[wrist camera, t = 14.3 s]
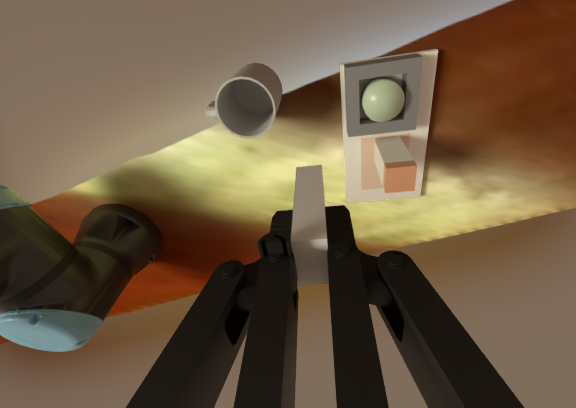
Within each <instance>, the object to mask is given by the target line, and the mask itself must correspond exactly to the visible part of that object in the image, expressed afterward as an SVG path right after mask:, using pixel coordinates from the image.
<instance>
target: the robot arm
mask: <svg viewBox="0 0 576 408" xmlns="http://www.w3.org/2000/svg"><path fill="white" fill-rule="evenodd" d="M161 246H162V239H161V236H160V233H159V231H158V229H157V228H156V227H155V225H154V224H153V223H152V222H151V221H150V220H149V219H148V218H146V217H145V216H144V215H142V214H141V213H139V212H137V211H135V210H133V209H131V208H128V207H125V206H122V205H116V204H105V205H101V206H98V207H96V208H94V209H93V210H92V211H91V212H90V213H89V214H88V215H87V216H86V217H85V218H84V219H83V221H82V223H81V226H80V229H79V231H78V233H77V235H76V237H75V239H74V242H73V243H72V244H71V243H70V242H69V241H68V240H67V239H66V238H65V237H64V236H63V235H62V234H60V233H59V232H58V231H57V230H56V229H55V228H54V227H53V226H52V225H51V224H50V223H49V222H47V221H46V220H45V219H44V218H43V217H42V216H41V215H40V214H39V213H38V212H37V211H35V210H34V209H33V208H32V207H31V204H30V203H29V202H25V201H24V200H23V199H22V198H21V197H19V196H18V195H17V194H16V193H15V192H13V191H12V190H11V189H9V188H8V187H5V186H2V185H0V311H1V312H2V313H1V314H0V335H2V336H3V337H5V338H7V339H8V340H10V341H13V342H15V343H18V344H21V345H23V346H27V347H30V348H35V349H40V350H46V351H56V352H58V351H60V352H63V351H71V350H75V349H78V348H80V347H82V346H83V345H85V344H86V343H87V342H88V341H89V340H90V338H91V337H92V336H93V334H94V333H95V332H96V331H97V329H98V328H99V327H100V326H101V325H102V324H103V321H104V319H105V318H106V316H107V315H108V313H109V311H110V310H111V308H112V307H113V305H114V304H115V302H116V301H117V299H118V298H119V296H120V295H121V293H122V292H123V290H124V288H125V287H126V285H127V284H128V282H129V281H130V279H131V278H132V277H133V276H134V275H135V274H137V273H138V272H139V271H141V270H142V269H143V268H144V267H146V266H147V265H148V264H150V263H151V262H152V261H153V260H154V259H155V258H156V256H157V254H158V253H159V251H160V249H161ZM258 246H259V250H260V254H261V259H259V260H258V261H256V262H253V263H250V264H247V265H243V264H242V263H241V262H239V261H236V260H230V261H227V262H224V263H222V264H221V265H219V266H218V267H217V268H216V270H215V271H214V273H213V274H212V276H211V277H210V279H209V280H208V282H207V283H206V285H205V287H204V288H203V290H202V291H201V293H200V294H199V296H198V297H197V299H196V300H195V302H194V303H193V305H192V307H191V308H190V310H189V311H188V313H187V314H186V316H185V317H184V319H183V320H182V322H181V323H180V325H179V327H178V328H177V330H176V331H175V333H174V334H173V336H172V337H171V339H170V340H169V342H168V343H167V345H166V347H165V348H164V350H163V351H162V353H161V354H160V356H159V357H158V359H157V361H156V362H155V364H154V365H153V367H152V368H151V370H150V371H149V373H148V374H147V376H146V377H145V379H144V381H143V382H142V384H141V385H140V387H139V388H138V390H137V391H136V393H135V394H134V396H133V397H132V399H131V400H130V402H129V404H128V405H127V407H126V408H214V406H215V403H216V401H217V399H218V397H219V395H220V392H221V390H222V388H223V386H224V383H225V381H226V379H227V376H228V374H229V372H230V370H231V367H232V365H233V363H234V360H235V358H236V356H237V354H238V351H239V349H240V347H241V345H242V342H243V339H244V338H245V336H246V333H247V338H246V343H245V348H244V354H243V359H242V365H241V370H240V375H239V381H238V386H237V392H236V397H235V403H234V408H295V379H296V351H297V323H298V321H297V320H298V290H297V280H298V285H310V284H329V292H330V308H331V323H332V338H333V354H334V368H335V384H336V399H337V408H389V407H388V402H387V397H386V391H385V386H384V381H383V376H382V371H381V365H380V360H379V355H378V350H377V344H376V339H375V334H374V329H373V324H372V319H371V313H370V308H369V304H372V305H376V306H377V309H378V311H379V313H380V315H381V317H382V318H383V320H384V322H385V324H386V326H387V328H388V330H389V332H390V334H391V336H392V338H393V340H394V342H395V344H396V346H397V348H398V350H399V351H400V353H401V355H402V357H403V359H404V361H405V363H406V365H407V367H408V369H409V371H410V373H411V375H412V377H413V379H414V381H415V383H416V385H417V386H418V389H419V391H420V393H421V394H422V396H423V398H424V400H425V402H426V404H427V406H428V408H524V407H523V405H522V404H521V403H520V401H519V400H518V399H517V397H516V396H515V395H514V393H513V392H512V391H511V389H510V388H509V387H508V385H507V384H506V383H505V382H504V380H503V379H502V378H501V376H500V375H499V374H498V373H497V371H496V370H495V368H494V367H493V366H492V364H491V363H490V362H489V360H488V359H487V358H486V357H485V355H484V354H483V353H482V351H481V350H480V349H479V347H478V346H477V345H476V343H475V342H474V341H473V339H472V338H471V337H470V335H469V334H468V333H467V331H466V330H465V329H464V327H463V326H462V325H461V324H460V322H459V321H458V320H457V318H456V317H455V316H454V314H453V313H452V312H451V310H450V309H449V308H448V306H447V305H446V304H445V302H444V301H443V300H442V299H441V297H440V296H439V295H438V293H437V292H436V291H435V289H434V288H433V287H432V286H431V284H430V283H429V281H428V280H427V279H426V278H425V277H424V275H423V274H422V272H421V271H420V270H419V268H418V267H417V266H416V264H415V263H414V262H413V260H412V259H411V258H410V257H409V256H408V255H407V254H405V253H402V252H400V251H394V250H393V251H386V252H384V253H382V254H381V255H380V256H379V257H375V256H371V255H367V254H365V253H363V252H361V251H360V250H359V249H358V248H357V246H356V244H355V238H354V233H353V228H352V223H351V217H350V212H349V210H348V209H347V208H346V207H345V206H344V205H342V206H329V207H325V200H324V188H323V175H322V165H315V166H305V167H297V168H296V180H295V192H294V205H293V210H286V211H277V212H276V213H275V215H274V216H273V217H272V222H271V228H270V233H268V234H266V235H264V236H263V237H262V238H261V239H260V240H259V242H258ZM247 331H248V332H247Z"/></svg>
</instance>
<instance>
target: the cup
mask: <svg viewBox="0 0 576 408" xmlns="http://www.w3.org/2000/svg"><path fill="white" fill-rule="evenodd" d="M281 98H282V85H281V82H280V80H279V78H278V76H277V75H276V73H275V72H274V71H273V70H272V69H271V68H269V67H268V66H265V65H263V64H258V63H252V64H248V65H246V66H244V67H242V68H241V69H239V70H238V71H237V72H236V73H235V74H234V75H233V76H232V77H230V78H229V79H228V80H227V81H226V82H225V83H224V84H223V85H222V86H221V87H220V88H219V90H218V92H217V94H216V98H215V100H214V101H213V102H211V103H210V104H209V105H208V106H207V107H206V109H205V115H206V116H207V117H208V118H209V119H211V120H218V119H219V121H220V122H221V124H222V125H223V126H224V127H225V129H226V130H228V131H229V132H230V133H232V134H233V135H236V136H238V137H242V138H256V137H258V136H261V135H263V134H264V133H265V132H267V131H268V130H269V128H270V127H271V126H272V124H273V121H274V119H275V116H276V113H277V110H278V107H279V105H280V102H281Z"/></svg>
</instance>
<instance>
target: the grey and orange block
mask: <svg viewBox="0 0 576 408" xmlns="http://www.w3.org/2000/svg"><path fill="white" fill-rule="evenodd" d="M374 163H375V165H376V168H377V171H378V174H379V177H380V180H381V182H382V185H383V188H384V191H385V193H393V192H405V191H415V182H416V172H417V164H416V163H415V161H414V160H413V158H412V156H411V155H410V153H409V151H408V150H407V148H406V146H405V145H404V143H403V141H402V140H401V138H400V137H395V136H392V137H383V138H375V140H374Z"/></svg>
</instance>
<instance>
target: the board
mask: <svg viewBox="0 0 576 408" xmlns="http://www.w3.org/2000/svg"><path fill="white" fill-rule="evenodd" d="M437 57H438V50H437V49H432V50H426V51H419V52H412V53H406V54H399V55H393V56H386V57H379V58H373V59H366V60H360V61H354V62H346V63H340V83H341V104H342V124H343V144H344V165H345V185H346V202H347V203H355V202H367V201H380V200H393V199H406V198H419V197H420V195H421V186H422V178H423V170H424V162H425V154H426V146H427V138H428V130H429V122H430V113H431V105H432V97H433V89H434V81H435V73H436V65H437ZM383 76H386V77H389V78H391V79H393V80H394V81H395V82H396V83H397V84H398V85H399V86H400V87H401V89H402V90H403V92H404V97H405V101H404V105H403V108H402V110H401V111H400V113H399V114H398V115H397V116H396V117H394V118H393V119H391V120H389V121H385V122H376V121H373V120H371V119H370V118H369V117H368V116H367V115H366V113H365V111H364V109H363V106H362V104H361V93H362V90H363V88H364V86H365V85H366V84H367V83H368V82H369V81H370V80H372V79H374V78H376V77H383ZM392 136H395V137H400V138H401V140H402V141H403V143H404V145H405V146H406V148H407V150H408V151H409V153H410V155H411V156H412V158H413V160H414V161H415V163H416V164H417V172H416V182H415V191H405V192H393V193H385V191H384V188H383V185H382V182H381V180H380V177H379V174H378V171H377V168H376V165H375V163H374V140H375V138H383V137H392Z"/></svg>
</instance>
